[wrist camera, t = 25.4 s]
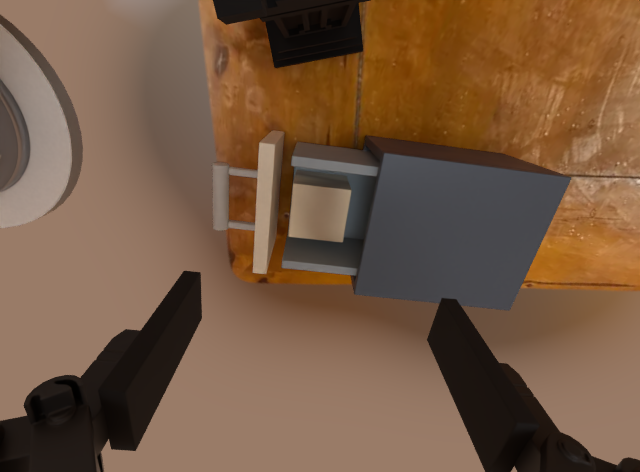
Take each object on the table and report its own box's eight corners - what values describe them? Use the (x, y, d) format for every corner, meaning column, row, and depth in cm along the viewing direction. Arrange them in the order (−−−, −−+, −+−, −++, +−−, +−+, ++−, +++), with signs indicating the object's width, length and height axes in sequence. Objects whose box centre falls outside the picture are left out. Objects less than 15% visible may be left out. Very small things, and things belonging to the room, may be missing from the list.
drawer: (226, 231, 35) (203, 267, 28) (227, 123, 31) (200, 134, 23) (383, 249, 36) (400, 288, 29) (408, 148, 32) (434, 165, 25)
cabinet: (345, 246, 37) (354, 294, 28) (365, 135, 32) (384, 152, 23) (465, 260, 38) (509, 311, 29) (504, 154, 33) (572, 177, 24)
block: (292, 216, 33) (288, 236, 29) (296, 169, 31) (293, 183, 27) (339, 222, 34) (342, 242, 29) (346, 175, 32) (351, 190, 27)
